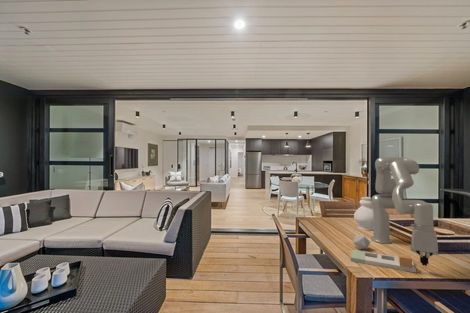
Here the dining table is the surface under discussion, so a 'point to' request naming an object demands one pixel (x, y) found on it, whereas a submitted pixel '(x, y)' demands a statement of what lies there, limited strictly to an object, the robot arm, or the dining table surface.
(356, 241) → the die
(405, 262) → the block
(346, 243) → the dining table surface
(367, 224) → the decorative vase
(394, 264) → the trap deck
